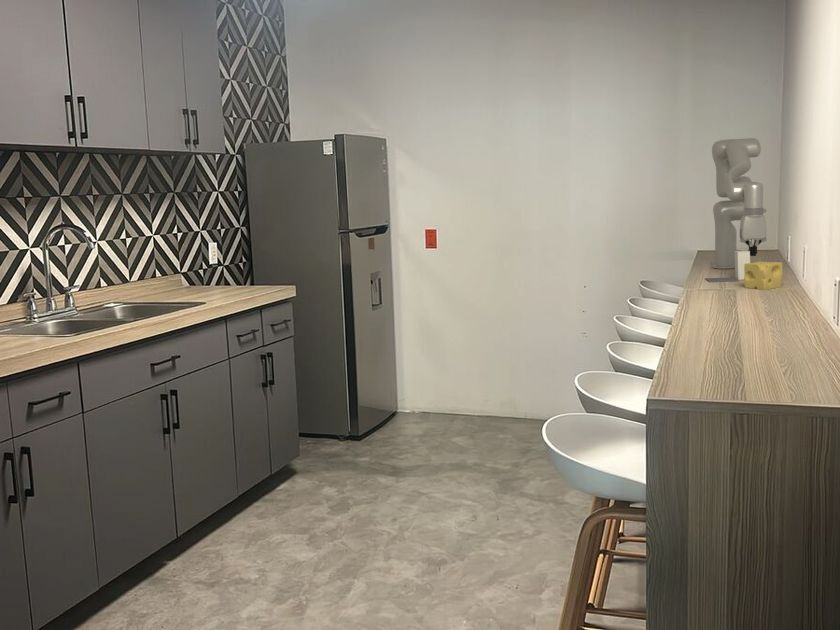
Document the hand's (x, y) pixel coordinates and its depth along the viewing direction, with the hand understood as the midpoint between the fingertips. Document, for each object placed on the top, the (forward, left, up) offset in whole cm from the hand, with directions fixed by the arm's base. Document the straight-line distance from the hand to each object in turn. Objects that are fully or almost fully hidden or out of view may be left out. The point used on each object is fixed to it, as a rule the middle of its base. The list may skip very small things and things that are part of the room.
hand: (752, 255), depth 361 cm
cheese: (+25, -3, -10) cm, 27 cm away
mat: (0, -13, -10) cm, 16 cm away
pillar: (0, -4, -10) cm, 11 cm away
